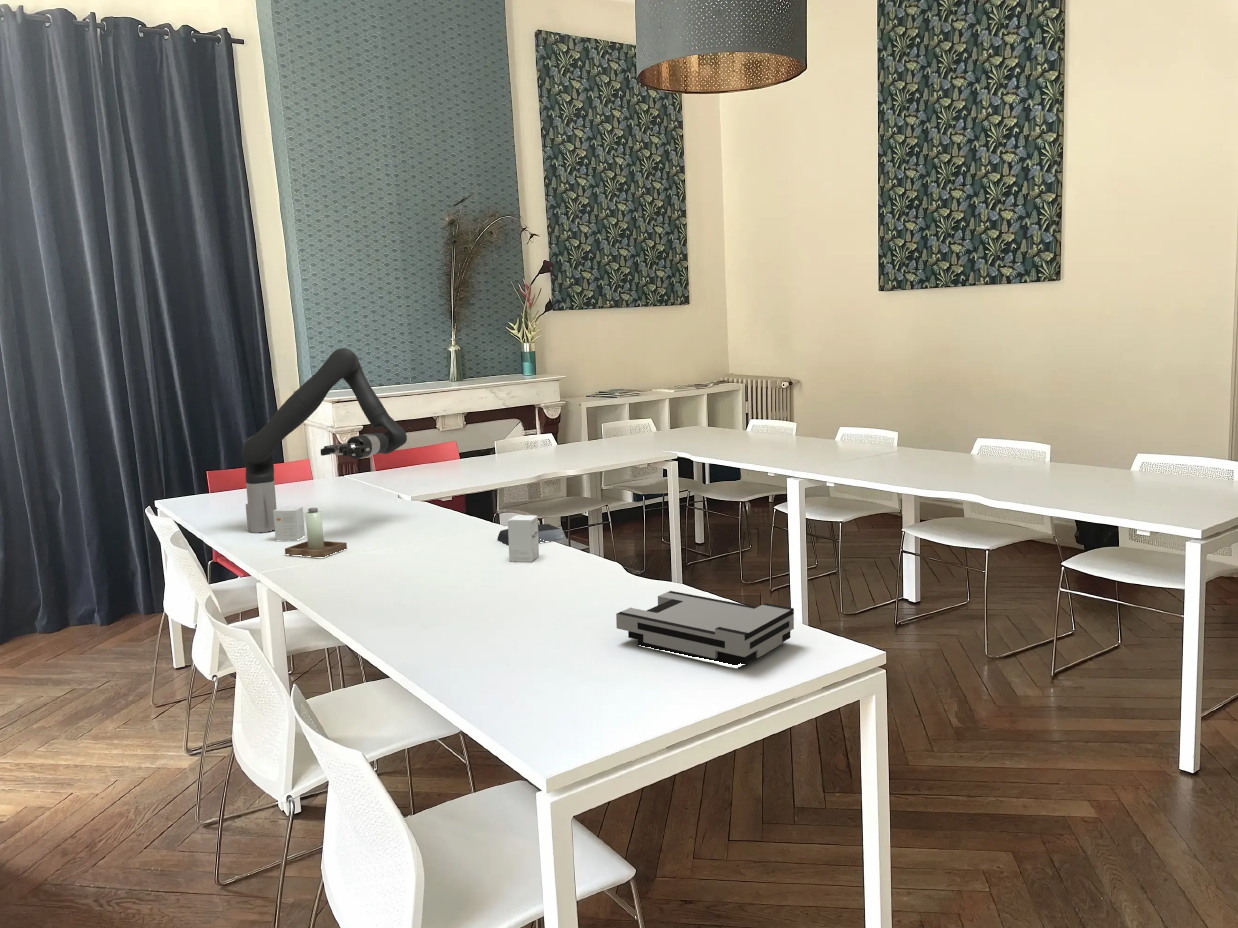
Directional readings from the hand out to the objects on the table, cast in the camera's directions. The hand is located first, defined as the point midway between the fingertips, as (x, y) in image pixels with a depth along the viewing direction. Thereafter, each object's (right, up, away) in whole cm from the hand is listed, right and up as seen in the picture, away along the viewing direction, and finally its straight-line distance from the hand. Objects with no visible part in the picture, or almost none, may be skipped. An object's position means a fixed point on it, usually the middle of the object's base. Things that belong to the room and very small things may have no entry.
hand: (332, 452), depth 303 cm
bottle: (-3, -31, -6) cm, 31 cm away
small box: (-18, -29, +14) cm, 37 cm away
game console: (+110, -43, -97) cm, 153 cm away
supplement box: (+63, -32, -20) cm, 73 cm away
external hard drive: (+63, -29, +5) cm, 69 cm away
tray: (-3, -31, -6) cm, 32 cm away
